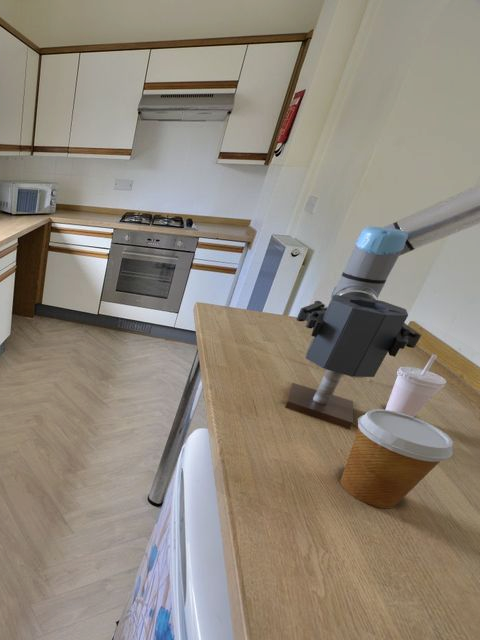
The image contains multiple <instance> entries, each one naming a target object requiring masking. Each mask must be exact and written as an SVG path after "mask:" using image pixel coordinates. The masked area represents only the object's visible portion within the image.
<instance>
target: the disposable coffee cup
mask: <svg viewBox="0 0 480 640" xmlns="http://www.w3.org/2000/svg"><path fill="white" fill-rule="evenodd" d="M357 423H358V424H357V426H358V429H357V432H356V435H355V438H354V440H353V443H352V445H351V450H350V452H349V454H348V458H347V460H346V463H345V467H344V470H343V472H342V475H341V478H340V479H339V480H340V481H339V482H340V485H341V487H342V488H343V489H344V491H346V492H347V493H348V494H350V495H351V496H352V497H354V498H355V499H357V500H359V501H361V502H363V503H365V504H367V505H369V506H373V507H376V508H379V509H393V508H395V507H396V506H397V505H398V504H399V503H400V502H401V501H402V500H403V499H404V498H405V497H406V496H407V495H408V494H409V493H410V491H412V490H413V489H414V488H415V487H416V486H417V485H418V484H419V483H420V482H421V481H422V480H424V479H425V477H426V476H427V475H428V474H430V472H432V471H433V469H435V467H436V466H438V465H439V463H440V462H443V461H445V460H448V459H449V458H451V457H452V456H453V454H454V451H453V445H454V442H453V439H452V438H451V437H450V436H449V435H448V434H447V433H445V432H444V431H442V430H441V429H440V428H438V427H436V426H435V425H432V424H431V423H429V422H426V421H425V420H422V419H419V418H418V417H412V416H409V415H406V414H403V413H399V412H395V411H390V410H385V409H381V408H374V409H370V410H368V411H367V412H366V413H365V414H363V415H360V416H359V417H358V418H357Z"/></svg>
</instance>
